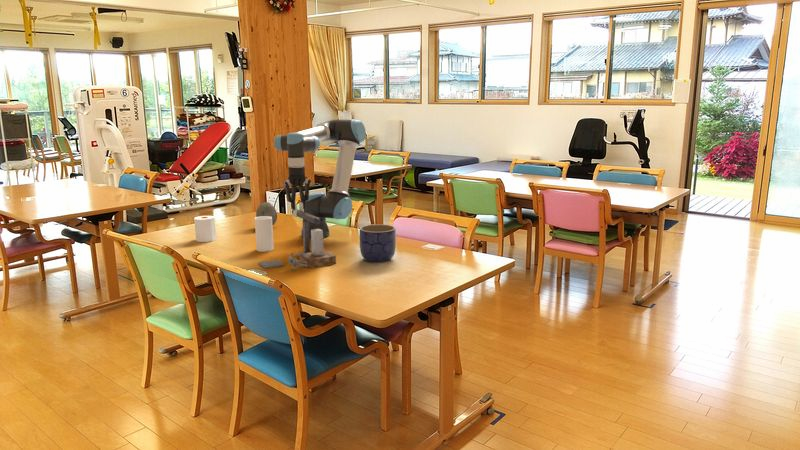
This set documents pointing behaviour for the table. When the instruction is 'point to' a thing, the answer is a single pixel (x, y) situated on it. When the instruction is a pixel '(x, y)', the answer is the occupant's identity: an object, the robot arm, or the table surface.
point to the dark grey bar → (307, 217)
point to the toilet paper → (205, 228)
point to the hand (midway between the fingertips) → (298, 215)
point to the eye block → (318, 259)
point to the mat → (271, 264)
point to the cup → (264, 233)
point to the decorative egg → (267, 211)
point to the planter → (377, 242)
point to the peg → (317, 242)
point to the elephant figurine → (295, 262)
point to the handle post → (305, 238)
